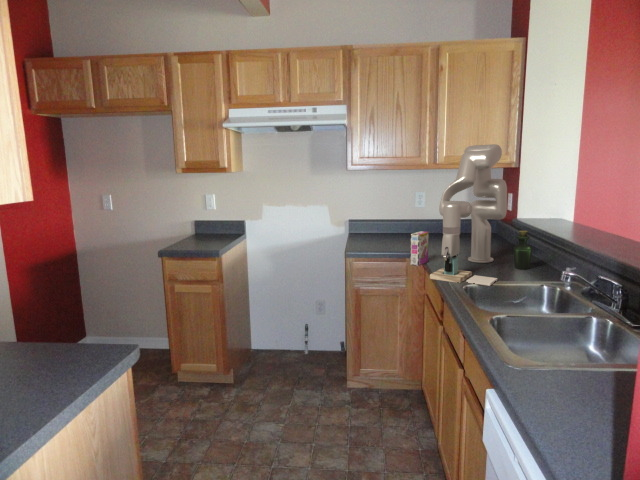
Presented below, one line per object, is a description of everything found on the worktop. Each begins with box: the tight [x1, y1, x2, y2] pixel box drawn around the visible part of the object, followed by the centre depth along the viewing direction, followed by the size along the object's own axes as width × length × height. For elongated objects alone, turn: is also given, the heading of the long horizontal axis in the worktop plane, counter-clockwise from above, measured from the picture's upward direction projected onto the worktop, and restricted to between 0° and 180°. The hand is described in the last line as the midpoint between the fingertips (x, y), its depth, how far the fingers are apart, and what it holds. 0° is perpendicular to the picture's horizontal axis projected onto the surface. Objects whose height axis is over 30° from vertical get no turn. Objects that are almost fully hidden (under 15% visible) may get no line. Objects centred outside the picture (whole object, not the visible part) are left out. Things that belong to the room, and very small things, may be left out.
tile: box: [465, 274, 498, 287], centre depth 191 cm, size 10×10×1 cm
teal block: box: [443, 256, 459, 275], centre depth 199 cm, size 4×4×9 cm
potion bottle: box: [512, 230, 533, 271], centre depth 210 cm, size 8×8×18 cm
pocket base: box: [429, 267, 473, 284], centre depth 199 cm, size 14×14×2 cm
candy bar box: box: [409, 230, 430, 267], centre depth 227 cm, size 11×5×16 cm, turn 141°
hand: (450, 269), depth 199 cm, fingers open, 5 cm apart
